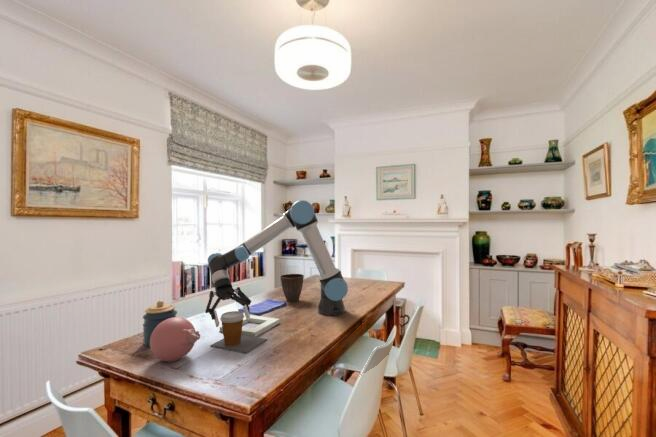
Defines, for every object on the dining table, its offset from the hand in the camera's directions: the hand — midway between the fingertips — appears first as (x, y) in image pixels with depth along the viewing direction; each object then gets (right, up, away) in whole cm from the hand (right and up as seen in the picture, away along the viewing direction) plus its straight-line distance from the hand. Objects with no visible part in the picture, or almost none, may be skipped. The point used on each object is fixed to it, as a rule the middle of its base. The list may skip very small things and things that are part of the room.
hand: (233, 322), depth 133 cm
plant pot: (+18, -8, +62) cm, 65 cm away
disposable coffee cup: (+1, -7, -6) cm, 9 cm away
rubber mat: (+4, -7, -4) cm, 9 cm away
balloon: (-15, -8, -19) cm, 25 cm away
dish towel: (+3, -8, +47) cm, 48 cm away
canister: (-31, -8, -2) cm, 32 cm away
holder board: (+4, -8, +15) cm, 17 cm away
